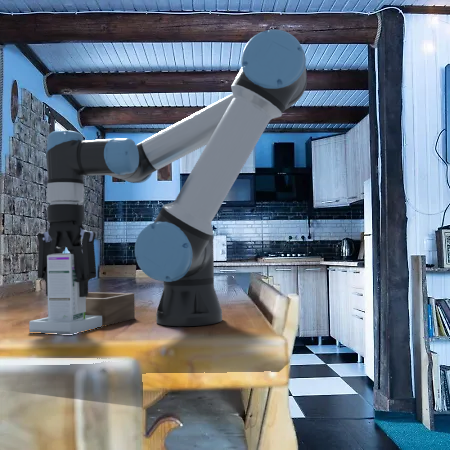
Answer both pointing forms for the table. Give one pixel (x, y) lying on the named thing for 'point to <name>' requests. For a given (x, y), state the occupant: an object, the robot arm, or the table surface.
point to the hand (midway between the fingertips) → (66, 311)
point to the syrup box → (61, 288)
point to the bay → (111, 306)
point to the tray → (65, 325)
